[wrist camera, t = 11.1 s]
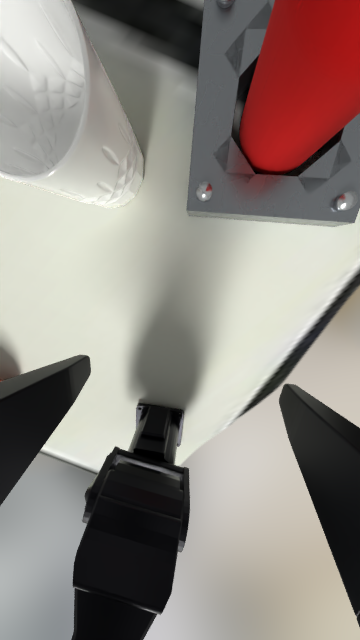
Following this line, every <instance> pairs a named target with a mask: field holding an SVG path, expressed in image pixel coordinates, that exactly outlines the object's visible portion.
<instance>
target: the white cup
mask: <svg viewBox="0 0 360 640" xmlns="http://www.w3.org/2000/svg"><path fill="white" fill-rule="evenodd" d="M143 162H144V158H143V155H142V152H141V150H140V147H139V144H138V141H137V138H136V136H135V134H134V132H133V130H132V127H131V124H130V122H129V120H128V118H127V116H126V113H125V111H124V109H123V107H122V105H121V103H120V100H119V98H118V96H117V94H116V91H115V89H114V87H113V85H112V83H111V81H110V79H109V77H108V75H107V73H106V71H105V69H104V67H103V65H102V63H101V61H100V59H99V57H98V55H97V53H96V51H95V49H94V47H93V45H92V43H91V41H90V39H89V37H88V34H87V32H86V30H85V28H84V26H83V24H82V22H81V20H80V18H79V16H78V14H77V12H76V10H75V8H74V6H73V4H72V2H71V0H0V176H1V177H3V178H6V179H9V180H12V181H16V182H19V183H22V184H25V185H29V186H32V187H35V188H38V189H41V190H44V191H48V192H51V193H54V194H57V195H60V196H64V197H67V198H70V199H73V200H77V201H81V202H85V203H88V204H96V205H100V206H103V207H105V208H108V209H110V208H115V207H121V206H124V205H126V204H127V203H128V202H129V201H130V200H131V199H133V198H134V197H135V196H136V194H137V192H138V190H139V187H140V185H141V183H142V180H143Z"/></svg>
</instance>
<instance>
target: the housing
mask: <svg viewBox="0 0 360 640" xmlns="http://www.w3.org/2000/svg"><path fill="white" fill-rule="evenodd" d="M274 2H275V0H204V12H203V23H202V35H201V47H200V59H199V71H198V82H197V94H196V106H195V118H194V129H193V141H192V153H191V165H190V177H189V188H188V200H187V213H188V215H189V216H199V217H212V218H225V219H238V220H251V221H265V222H278V223H291V224H304V225H317V226H330V227H335V226H341V225H346V224H351V223H354V222H355V220H356V217H357V214H358V211H359V208H360V113H359V114H358V115H357V116H356V117H355V118H353V119H352V120H351V121H350V122H349V123H348V124H347V125H346V126H344V127H343V128H342V129H341V130H340V131H339V132H338V133H336V134H335V135H334V136H333V137H332V138H331V139H330V140H329V141H327V142H326V143H325V144H324V145H323V148H322V152H321V155H320V158H318V159H317V160H316V161H315V162H314V163H313V164H311V165H310V166H309V167H308V168H307V169H305V170H304V171H303V172H302V173H301V174H300V175H298V176H280V175H262V174H255V173H254V171H253V170H252V168H251V167H250V165H249V164H248V162H247V160H246V159H245V157H244V156H243V154H242V153H241V151H240V149H239V148H238V146H237V145H236V143H235V142H234V140H233V138H232V137H231V132H232V125H233V118H234V110H235V103H236V101H237V100H238V98H239V97H240V96H241V95H242V94H243V93H244V92H245V91H246V90H247V89H248V88H249V87H250V85H251V82H252V79H253V75H254V72H255V68H256V65H257V61H258V58H259V54H260V51H261V47H262V44H263V40H264V37H265V33H266V30H267V26H268V23H269V19H270V16H271V12H272V9H273V5H274Z"/></svg>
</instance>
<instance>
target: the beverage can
mask: <svg viewBox="0 0 360 640" xmlns="http://www.w3.org/2000/svg"><path fill="white" fill-rule="evenodd" d="M359 113H360V0H275V2H274V5H273V9H272V12H271V16H270V19H269V23H268V26H267V30H266V33H265V37H264V40H263V44H262V47H261V51H260V54H259V58H258V61H257V65H256V68H255V72H254V75H253V79H252V82H251V86H250V89H249V93H248V96H247V100H246V103H245V107H244V110H243V114H242V117H241V122H240V131H239V137H240V145H241V150H242V153H243V156H244V157H245V159H246V160H247V162H248V164H249V165H250V167H251V168H252V169H253V170H254V171H256V172H257V173H259V174H262V175H282V174H285V173H288V172H290V171H292V170H294V169H296V168H297V167H299V166H300V165H301V164H302V163H304V162H305V161H306V160H307V159H308V158H309V157H310V156H312V155H313V154H314V153H315V152H316V151H317V150H318V149H319V148H321V147H322V146H323V145H324V144H325V143H326V142H327V141H329V140H330V139H331V138H332V137H333V136H334V135H335V134H336V133H338V132H339V131H340V130H341V129H342V128H343V127H344V126H346V125H347V124H348V123H349V122H350V121H351V120H352V119H353V118H355V117H356V116H357V115H358V114H359Z"/></svg>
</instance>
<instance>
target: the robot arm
mask: <svg viewBox="0 0 360 640" xmlns="http://www.w3.org/2000/svg"><path fill="white" fill-rule="evenodd" d="M90 373H91V367H90V358H89V356H86V355H77V356H74V357H72V358H69V359H66V360H63V361H60V362H57V363H54V364H51V365H48V366H45V367H42V368H39V369H36V370H33V371H30V372H27V373H24V374H21V375H18V376H16V377H13V378H10V379H7V380H4V381H1V382H0V505H1V504H2V503H3V501H4V500H5V498H6V497H7V496H8V494H9V493H10V491H11V490H12V489H13V487H14V486H15V485H16V483H17V482H18V480H19V479H20V478H21V476H22V475H23V473H24V472H25V471H26V469H27V468H28V466H29V465H30V464H31V462H32V461H33V459H34V458H35V457H36V455H37V454H38V452H39V451H40V450H41V448H42V447H43V445H44V444H45V443H46V441H47V440H48V438H49V437H50V436H51V434H52V433H53V431H54V430H55V429H56V427H57V426H58V425H59V423H60V422H61V420H62V419H63V418H64V416H65V415H66V413H67V412H68V411H69V409H70V408H71V406H72V405H73V403H74V402H75V400H76V398H77V397H78V395H79V393H80V391H81V390H82V388H83V386H84V385H85V383H86V381H87V379H88V378H89V376H90ZM279 404H280V408H281V412H282V415H283V419H284V423H285V427H286V430H287V434H288V438H289V441H290V443H291V446H292V449H293V451H294V454H295V457H296V459H297V462H298V465H299V467H300V470H301V473H302V475H303V478H304V481H305V483H306V486H307V488H308V491H309V494H310V496H311V499H312V501H313V504H314V507H315V510H316V512H317V514H318V518H319V520H320V523H321V525H322V528H323V531H324V533H325V536H326V539H327V541H328V544H329V547H330V549H331V552H332V555H333V557H334V560H335V562H336V565H337V568H338V570H339V573H340V576H341V578H342V581H343V584H344V586H345V589H346V592H347V594H348V597H349V600H350V602H351V605H352V607H353V610H354V613H355V615H356V616H357V621H358V624H359V627H360V428H359V427H357V426H356V425H354V424H353V423H351V422H350V421H348V420H347V419H345V418H344V417H342V416H341V415H340V414H338V413H336V412H335V411H333V410H332V409H331V408H329V407H328V406H326V405H325V404H323V403H322V402H320V401H319V400H317V399H315V398H314V397H313V396H311V395H310V394H308V393H307V392H305V391H304V390H302V389H301V388H299V387H298V386H296V385H294V384H285V385H284V386H283V389H282V393H281V395H280V398H279ZM140 407H141V408H140ZM183 418H184V412H183V411H182V410H179V409H172V408H166V407H160V406H153V405H147V404H138V405H137V408H136V431H135V434H134V437H133V439H132V442H131V445H130V447H129V450H128V451H125V450H122V449H120V448H119V447H115V448H114V449H113V451H112V453H110V454H109V455H108V456H107V457H106V460H105V462H104V464H103V466H102V468H101V470H100V472H99V473H98V475H97V476H96V478H95V479H94V480H93V482H92V483H91V484H90V486H89V487H88V489H87V491H86V493H85V500H86V506H85V512H84V516H83V520H82V521H83V522H84V523H87V526H86V529H85V531H84V534H83V537H82V540H81V542H80V545H79V547H78V550H77V553H76V557H75V562H74V571H73V587H74V588H75V600H74V633H73V636H72V640H143V639H144V637H145V636H146V634H147V632H148V630H149V628H150V626H151V625H152V623H153V621H154V619H155V617H156V615H157V614H160V615H161V613H162V612H163V610H164V608H165V605H166V604H167V601H168V599H169V597H170V595H171V592H172V584H173V579H174V572H175V566H176V559H177V552H182V550H183V548H184V544H185V541H186V536H187V530H188V523H189V513H190V495H189V493H190V492H189V469H188V468H186V467H184V468H183V467H179V466H176V465H174V464H175V457H176V449H177V447H179V446H180V443H181V434H182V426H183Z"/></svg>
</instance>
